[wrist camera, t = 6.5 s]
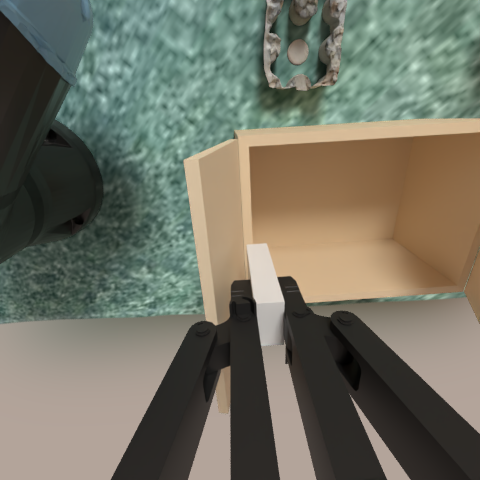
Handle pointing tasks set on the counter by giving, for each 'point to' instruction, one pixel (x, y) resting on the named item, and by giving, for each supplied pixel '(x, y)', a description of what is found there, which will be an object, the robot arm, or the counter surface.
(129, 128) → the counter surface
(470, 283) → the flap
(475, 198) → the carton
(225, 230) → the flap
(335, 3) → the egg carton
